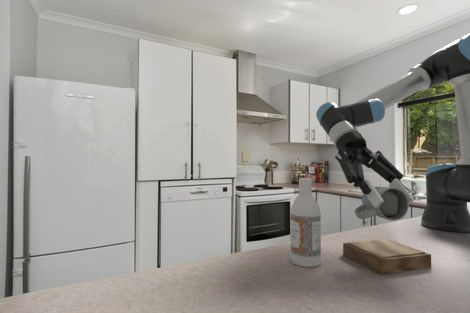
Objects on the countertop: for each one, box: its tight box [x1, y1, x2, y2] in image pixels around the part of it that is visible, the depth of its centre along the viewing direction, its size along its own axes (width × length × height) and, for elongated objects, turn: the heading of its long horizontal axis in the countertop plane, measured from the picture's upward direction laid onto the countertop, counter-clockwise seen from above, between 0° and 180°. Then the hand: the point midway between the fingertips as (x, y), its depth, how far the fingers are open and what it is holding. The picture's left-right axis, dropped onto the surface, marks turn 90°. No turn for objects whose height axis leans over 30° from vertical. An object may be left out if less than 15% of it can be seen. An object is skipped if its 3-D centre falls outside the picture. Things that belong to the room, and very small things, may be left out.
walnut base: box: [342, 238, 432, 276], centre depth 62 cm, size 14×12×3 cm
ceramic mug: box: [354, 186, 410, 222], centre depth 63 cm, size 11×8×8 cm
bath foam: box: [290, 177, 322, 268], centre depth 61 cm, size 7×7×20 cm
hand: (394, 203), depth 59 cm, fingers closed on ceramic mug, 8 cm apart
